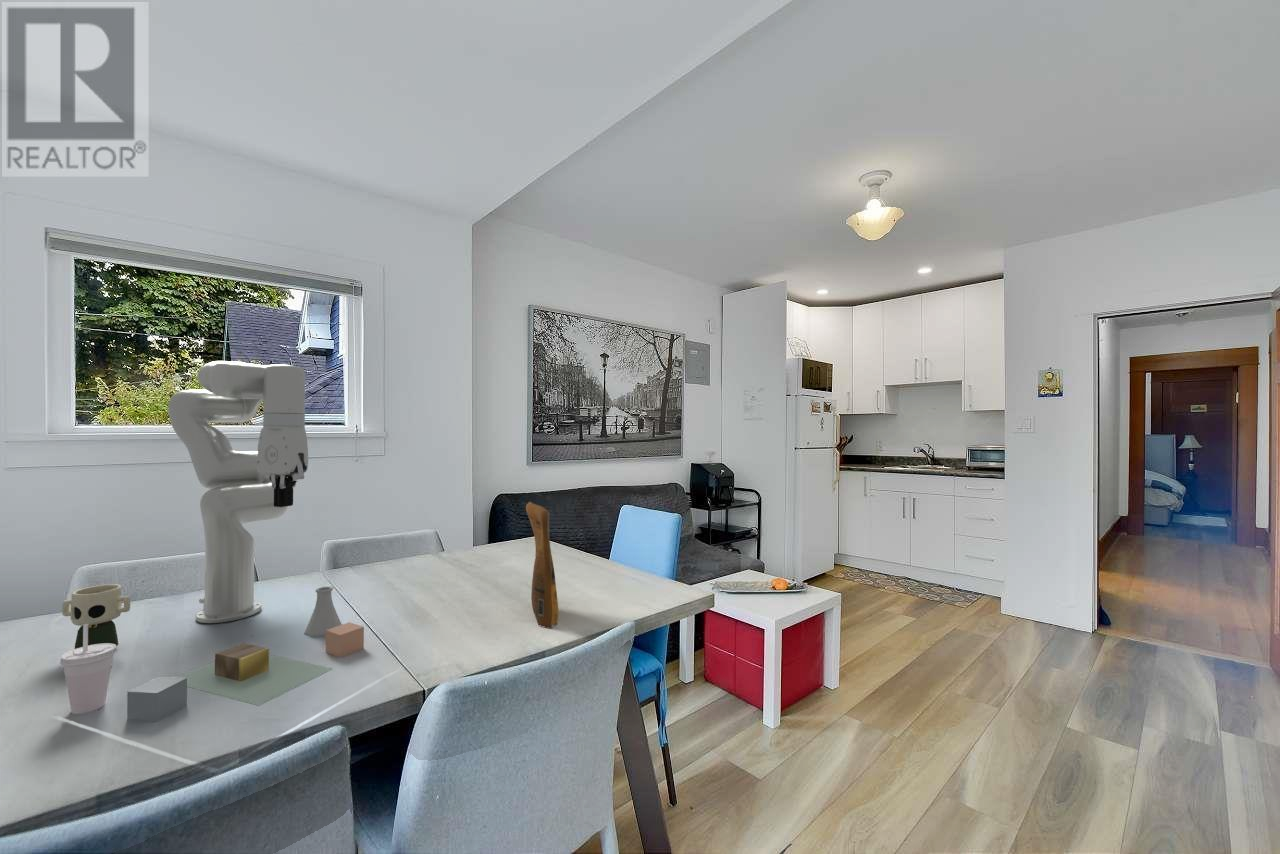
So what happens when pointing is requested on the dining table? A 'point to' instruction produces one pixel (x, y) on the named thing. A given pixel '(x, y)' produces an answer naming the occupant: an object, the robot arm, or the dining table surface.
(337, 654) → the terracotta block
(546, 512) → the pancake mix bag
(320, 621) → the flask
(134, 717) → the slate block
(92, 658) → the smoothie
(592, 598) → the dining table surface
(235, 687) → the rubber mat
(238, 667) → the walnut block
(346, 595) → the dining table surface
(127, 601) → the character mug
